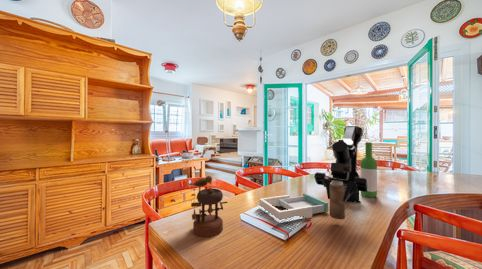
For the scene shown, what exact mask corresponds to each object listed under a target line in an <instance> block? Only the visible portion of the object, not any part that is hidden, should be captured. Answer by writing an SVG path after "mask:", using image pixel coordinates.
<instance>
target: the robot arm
mask: <svg viewBox="0 0 482 269" xmlns="http://www.w3.org/2000/svg"><path fill="white" fill-rule="evenodd" d="M343 128H344V129H343V137H342V139H338V141H336V142H334V143H333V144H331V148H332V152H333V156H334V159H335V162H331V163H330V170H329V171H330V172H331V173H330V174H331V175H330V176H329V175H327V174H326V172H318V171H317V172H315V173H314V176H313V178H314V180H315V182H316V184H317V185H318V186H323V187H324V188H325V189H326V195H327V200H330V184H331V181H332V180H338V181H342V182H343V185H344V186H345V196H344V202H345V203H359V204H360V203H362V201H361V200H360V192H361V191H363V192H367V189H368V185H367V179H366V178H361V176H360V175H359V173H358V171H357V166H358V164H357V162H358V145H359V143H360V142H361V141H362V138H363V136H364V129H363V127H360V126H358V125H356V124H352V125H351V124H350V125H349V124H348V125H345V127H343Z"/></svg>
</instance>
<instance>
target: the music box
mask: <svg viewBox="0 0 482 269" xmlns="http://www.w3.org/2000/svg"><path fill="white" fill-rule="evenodd" d="M212 181H213V177H212V176H210V175H207V176H206V177H202V178H199V179H198V180H196V181H194V182H192V183H191V182H190V183H188V186H189V187H190V186H191V187H192V186H194V188H193V190H194V198H193V202H191V203H190V208H193V207H194V209H193V213H192V214H191V220H192V221H193V222H192V223H193V225H192V226H193V231H192V232H193V234H194V236H196V237H199V238H204V239H207V238H208V239H209V238H214V237H217V236H219V235H220V234H221V233H222V232H223V228H224V225H223V224H224V223H223V222H224V221H223V218H222V217H220V215H219V212H218V211H221V210H222V211H223V210H224V207H223V204H228V201H222V200H223V197H224V196H223V195H224V194H223V192H222V190H221V189H218V188H213V187H212V186H208V187H207V188H204V189H201V187H205V186H207V185H208V184H210V185H213V183H212ZM196 187H198V192H197V195H195V194H196V192H195V191H196ZM195 196H196V198H195ZM195 200H197V201H196V202H195ZM219 205H220V207H219ZM206 206H208V208H207V209H205V208H206ZM213 206H214V208H213ZM195 207H201V208H199V210H198V213H196V208H195ZM213 212H214V214H212V213H213ZM207 213H208V214H207Z"/></svg>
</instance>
